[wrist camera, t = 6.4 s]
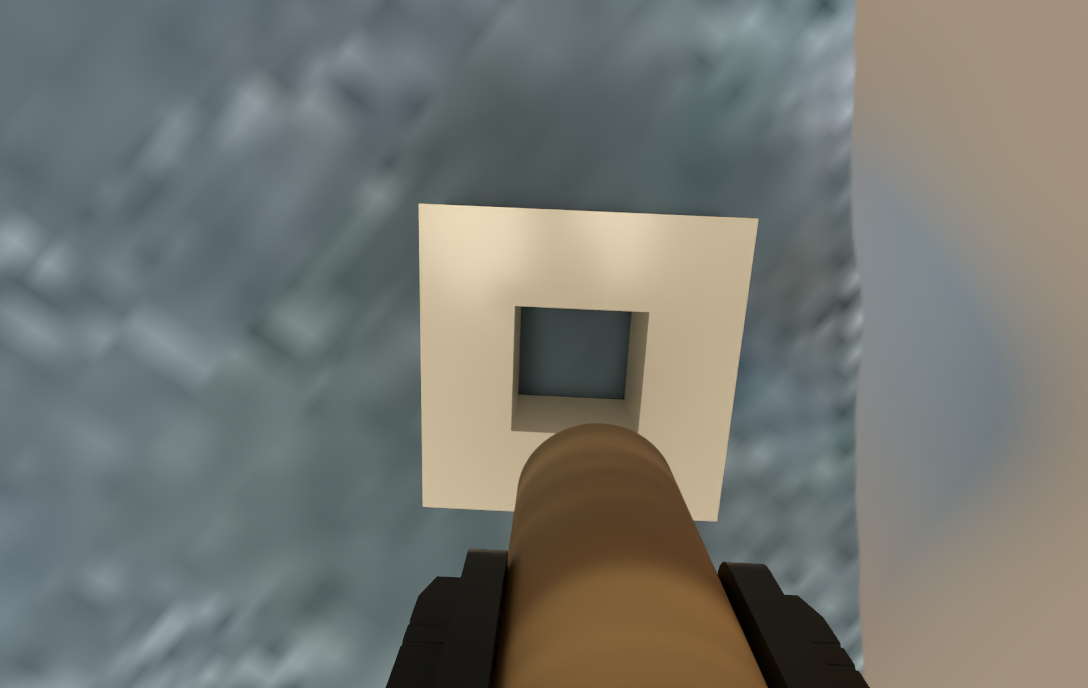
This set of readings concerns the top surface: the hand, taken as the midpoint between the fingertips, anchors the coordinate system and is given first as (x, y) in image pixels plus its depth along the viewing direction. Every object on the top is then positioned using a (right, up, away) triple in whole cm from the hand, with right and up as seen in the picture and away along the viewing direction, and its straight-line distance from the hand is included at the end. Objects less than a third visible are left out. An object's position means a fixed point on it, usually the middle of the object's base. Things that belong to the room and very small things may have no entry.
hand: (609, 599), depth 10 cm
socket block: (0, +5, +19) cm, 19 cm away
